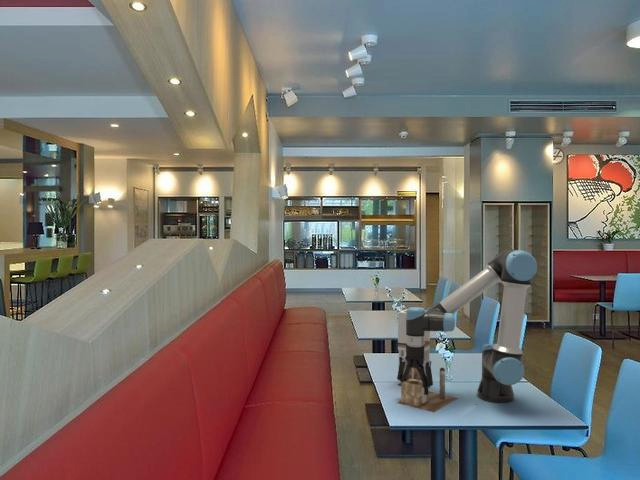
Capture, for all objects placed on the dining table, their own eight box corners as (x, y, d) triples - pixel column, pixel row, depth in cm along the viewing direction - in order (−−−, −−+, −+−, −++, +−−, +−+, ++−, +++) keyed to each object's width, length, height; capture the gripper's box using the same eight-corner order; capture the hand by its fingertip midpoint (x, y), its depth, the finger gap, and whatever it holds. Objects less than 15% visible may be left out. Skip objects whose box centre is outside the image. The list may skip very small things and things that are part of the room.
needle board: (458, 401, 219) (458, 367, 219) (434, 416, 202) (434, 378, 202) (422, 393, 230) (422, 360, 230) (396, 406, 213) (396, 371, 212)
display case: (397, 388, 236) (398, 312, 236) (405, 382, 246) (406, 309, 245) (421, 392, 231) (422, 314, 230) (429, 386, 240) (430, 311, 239)
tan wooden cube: (427, 401, 215) (428, 382, 215) (418, 406, 209) (418, 386, 208) (410, 397, 220) (410, 378, 220) (401, 402, 214) (401, 382, 213)
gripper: (388, 343, 217) (388, 396, 218) (434, 350, 204) (433, 408, 205) (397, 340, 223) (397, 392, 224) (442, 347, 210) (441, 403, 211)
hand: (414, 399), depth 214 cm, fingers closed on tan wooden cube, 8 cm apart
